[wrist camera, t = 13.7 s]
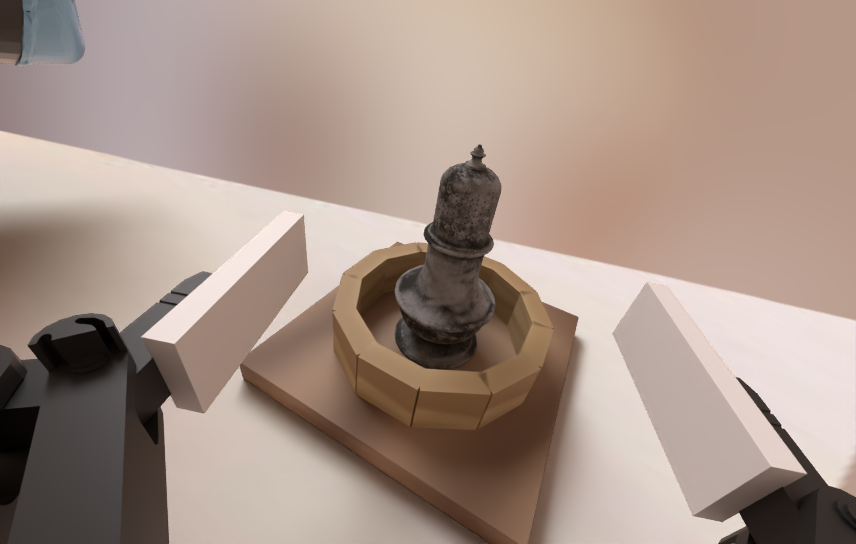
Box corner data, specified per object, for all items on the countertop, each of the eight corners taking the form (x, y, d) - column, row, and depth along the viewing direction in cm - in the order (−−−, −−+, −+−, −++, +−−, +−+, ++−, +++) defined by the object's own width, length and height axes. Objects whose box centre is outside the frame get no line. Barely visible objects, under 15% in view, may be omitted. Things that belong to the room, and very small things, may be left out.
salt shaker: (497, 364, 20) (577, 171, 13) (404, 383, 18) (442, 167, 11) (459, 300, 25) (504, 129, 18) (380, 310, 23) (396, 121, 16)
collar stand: (243, 378, 19) (226, 320, 16) (395, 255, 31) (400, 211, 28) (515, 560, 14) (554, 520, 11) (570, 331, 26) (596, 285, 24)
